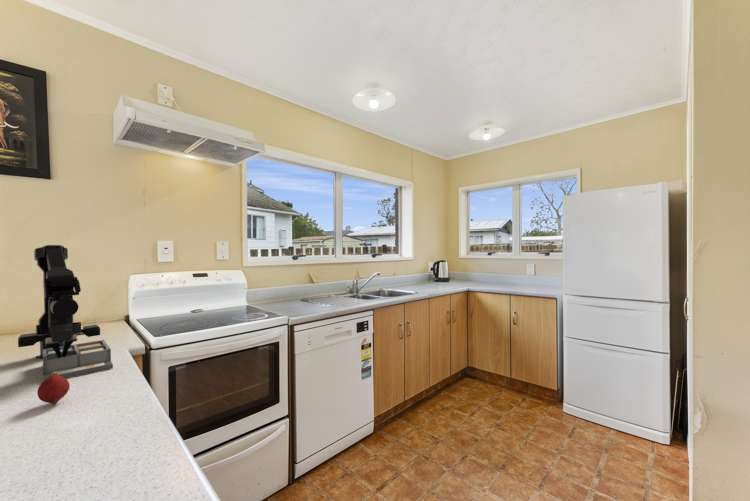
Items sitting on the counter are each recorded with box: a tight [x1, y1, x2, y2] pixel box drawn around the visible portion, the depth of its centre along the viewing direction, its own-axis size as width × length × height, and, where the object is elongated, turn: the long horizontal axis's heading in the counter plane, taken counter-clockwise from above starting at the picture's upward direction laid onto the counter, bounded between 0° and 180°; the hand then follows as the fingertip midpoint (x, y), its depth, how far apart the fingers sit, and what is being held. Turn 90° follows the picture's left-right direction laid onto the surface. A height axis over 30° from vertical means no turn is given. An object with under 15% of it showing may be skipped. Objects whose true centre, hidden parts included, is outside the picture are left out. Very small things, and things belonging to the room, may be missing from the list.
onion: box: [36, 372, 70, 405], centre depth 84 cm, size 6×6×8 cm
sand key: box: [80, 348, 104, 354], centre depth 111 cm, size 6×6×2 cm
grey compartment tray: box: [42, 339, 114, 381], centre depth 109 cm, size 20×16×6 cm
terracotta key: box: [78, 343, 101, 349], centre depth 116 cm, size 6×6×2 cm
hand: (61, 361), depth 105 cm, fingers closed, pressing on sage key
